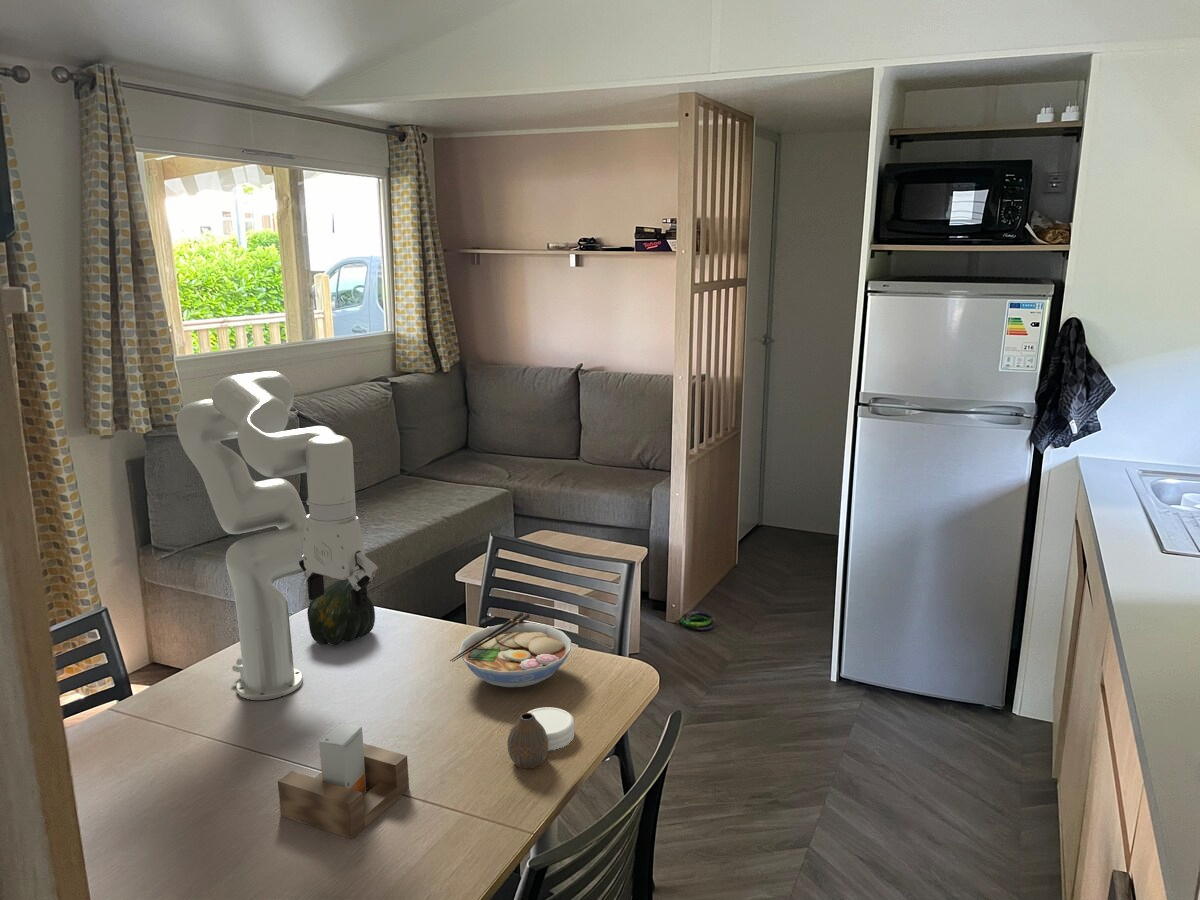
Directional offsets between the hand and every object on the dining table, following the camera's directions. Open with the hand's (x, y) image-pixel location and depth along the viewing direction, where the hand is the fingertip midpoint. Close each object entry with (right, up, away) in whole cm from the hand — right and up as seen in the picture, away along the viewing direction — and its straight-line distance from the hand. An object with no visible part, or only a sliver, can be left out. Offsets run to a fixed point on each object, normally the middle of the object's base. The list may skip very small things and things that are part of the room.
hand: (338, 603), depth 154 cm
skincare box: (+5, -30, -12) cm, 32 cm away
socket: (+5, -30, -12) cm, 32 cm away
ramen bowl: (+28, -21, +28) cm, 45 cm away
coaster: (+36, -26, +7) cm, 45 cm away
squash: (-13, -16, +48) cm, 52 cm away
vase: (+33, -27, -1) cm, 43 cm away
